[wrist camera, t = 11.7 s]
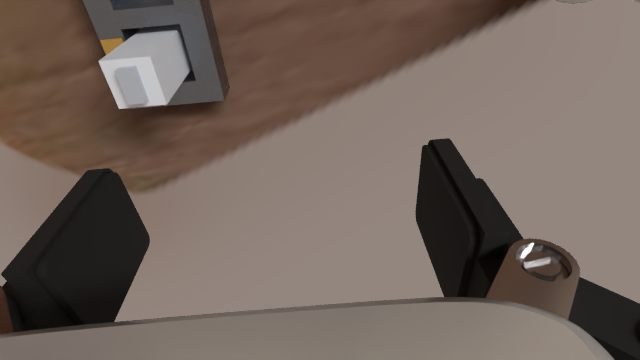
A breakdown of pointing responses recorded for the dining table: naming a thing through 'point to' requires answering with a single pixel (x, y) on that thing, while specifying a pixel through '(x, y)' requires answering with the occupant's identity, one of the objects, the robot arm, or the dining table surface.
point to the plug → (147, 67)
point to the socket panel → (165, 10)
